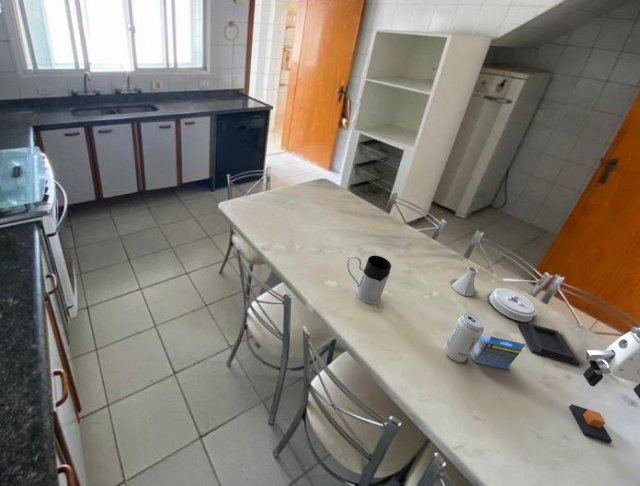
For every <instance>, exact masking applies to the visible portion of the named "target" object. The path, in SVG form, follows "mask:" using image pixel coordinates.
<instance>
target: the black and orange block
mask: <svg viewBox="0 0 640 486" xmlns="http://www.w3.org/2000/svg"><path fill="white" fill-rule="evenodd" d="M568 408H569V410H570V412H571V414H572V416H573V418H574V420H575V422H576V423H577V426H578V427H579V429H580V431H581V433H582V435H583V436H584V437H587V438H590V439H593V440H596V441H600V442H602V443H605V444H608V445H610V444H611V443H612V442H613V440H612V438H611V436H610V434H609V433H608V431H607V429H606V427H605V424H606V420H604V418H603V416H602V414H601V413H600V412H597V411H595V410H592V409H588V408H586V407H583V406H579V405H576V404H573V403H571V404H570V405H569V406H568Z"/></svg>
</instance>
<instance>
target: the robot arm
mask: <svg viewBox="0 0 640 486" xmlns="http://www.w3.org/2000/svg"><path fill="white" fill-rule="evenodd" d="M585 359H586V360H587V362H588V363H589V365H590V366H589V367H588V368H587V369H586V370H585V371H584V372H583V374H582V375H583V377H584V378H585V380H586V382H587V384H588V385H589V386H591V387H596V385H598V383H600V382H601V381H602V379H603V378H604V375H606V374H610V373H611V374H612V375H613V376H615V377H617V378H620V379H623V380H627V381H630V382H633V383H637V385H636V386H635V387H634V388H633V389H632V390H633V392H634V393H635V395H636V396H637V397H638V399H640V324H638V325H637V326H632V327H631V328H630V331H628V332H626V333H625V334H623V335H622V336H620V337H619V338H617V339H616V340H615V341H614V342H612V343H611V344H610V345H609V346H608V347H607V348H606V349H605V350H604V349H603V350H598V349H597V350H596V349H593V350H592V349H591V350H590V349H588V350H586V357H585ZM602 365H605V367H600V366H602Z"/></svg>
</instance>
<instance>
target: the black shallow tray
mask: <svg viewBox="0 0 640 486" xmlns="http://www.w3.org/2000/svg"><path fill="white" fill-rule="evenodd" d="M517 327H518V329H519V331H520V333H521V335H522V337H523V339H524V340H525V342H526V343H525V344H527V346H528V348H529V351H530V353H531V354H535V355H538V356H542V357H544V358H548V359H552V360H555V361H559V362H562V363H565V364H569V365H572V366H576V367H579V366H580V365H581V363H580V361H579V360H578V359H577V357H576V356H575V355H576V354H574V352H573V351H572V348H570V346H569V344H568V343H567V341H566V340H565V338H564V337H563V335H562V334H560V333H559V331H558V330H557V329H553V328H548V327H545V326H541V325H538V324H534V323H530V322H527V324H525V323H520V322H519V323H518V324H517Z"/></svg>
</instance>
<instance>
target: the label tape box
mask: <svg viewBox="0 0 640 486" xmlns="http://www.w3.org/2000/svg"><path fill="white" fill-rule="evenodd" d="M525 346H526V343H522V342H517V341H514V340H509V339H505V338H500V337H498V336H497V337H496V336H492V335H490V337H488V336H482V335H481V336H480V338H479V340H478V341H477V343H476V344H475V346H474V348H473V349H472V351H471V353H470V354H469V355H470V356H471V358H472V361H473V362H474V363H477V364H481V365H485V366H490V367H495V368H499V369H503V370H507V369H508V368H509V367H510V366H511V365H512V363H513V362H514V361H515V360H516V358H517V357H518V356H519V355H520V353H521V352H522V350H523V349H524V347H525Z"/></svg>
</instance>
